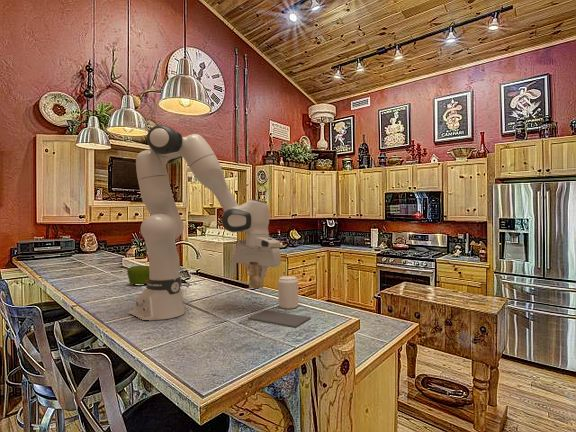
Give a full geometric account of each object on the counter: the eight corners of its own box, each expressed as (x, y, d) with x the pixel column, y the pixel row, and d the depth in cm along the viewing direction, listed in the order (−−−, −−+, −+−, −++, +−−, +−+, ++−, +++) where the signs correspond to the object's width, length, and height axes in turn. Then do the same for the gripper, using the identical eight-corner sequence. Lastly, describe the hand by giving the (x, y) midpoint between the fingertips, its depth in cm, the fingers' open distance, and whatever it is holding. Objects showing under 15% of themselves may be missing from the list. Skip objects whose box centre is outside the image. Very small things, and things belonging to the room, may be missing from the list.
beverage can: (302, 306, 139) (301, 277, 139) (289, 310, 133) (288, 280, 133) (288, 303, 145) (287, 275, 145) (274, 307, 139) (274, 277, 139)
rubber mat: (248, 319, 123) (248, 317, 123) (265, 311, 133) (265, 309, 133) (295, 328, 113) (295, 326, 113) (310, 318, 122) (310, 317, 122)
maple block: (249, 287, 132) (249, 261, 132) (255, 285, 135) (255, 260, 135) (257, 288, 130) (258, 262, 130) (263, 286, 133) (264, 261, 133)
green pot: (123, 287, 183) (122, 266, 183) (136, 282, 195) (136, 262, 195) (144, 287, 181) (143, 266, 181) (156, 282, 193) (156, 263, 193)
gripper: (231, 240, 135) (230, 274, 135) (274, 243, 124) (273, 280, 124) (241, 239, 140) (240, 272, 140) (283, 242, 130) (282, 278, 130)
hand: (256, 276), depth 132 cm, fingers closed on maple block, 4 cm apart
